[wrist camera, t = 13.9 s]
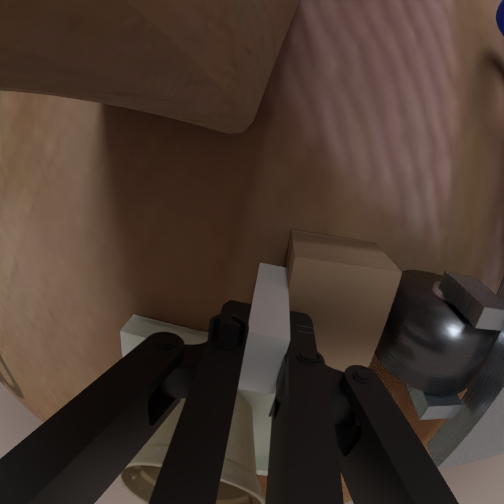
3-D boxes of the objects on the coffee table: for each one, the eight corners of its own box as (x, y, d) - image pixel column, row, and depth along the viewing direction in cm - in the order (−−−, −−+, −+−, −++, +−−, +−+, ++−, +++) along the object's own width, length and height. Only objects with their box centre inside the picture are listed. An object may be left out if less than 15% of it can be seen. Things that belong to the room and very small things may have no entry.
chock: (291, 229, 17) (294, 256, 13) (375, 242, 17) (402, 272, 12) (275, 321, 19) (272, 367, 15) (350, 330, 19) (365, 375, 14)
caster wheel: (402, 180, 15) (496, 212, 7) (531, 229, 15) (609, 271, 7) (338, 376, 20) (355, 477, 12) (464, 382, 20) (503, 453, 11)
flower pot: (283, 439, 22) (278, 526, 14) (180, 441, 23) (155, 516, 15) (261, 358, 19) (248, 469, 11) (138, 366, 21) (88, 451, 13)
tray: (133, 313, 20) (120, 330, 18) (333, 354, 19) (337, 375, 17) (143, 430, 24) (136, 446, 22) (285, 459, 24) (284, 477, 22)
